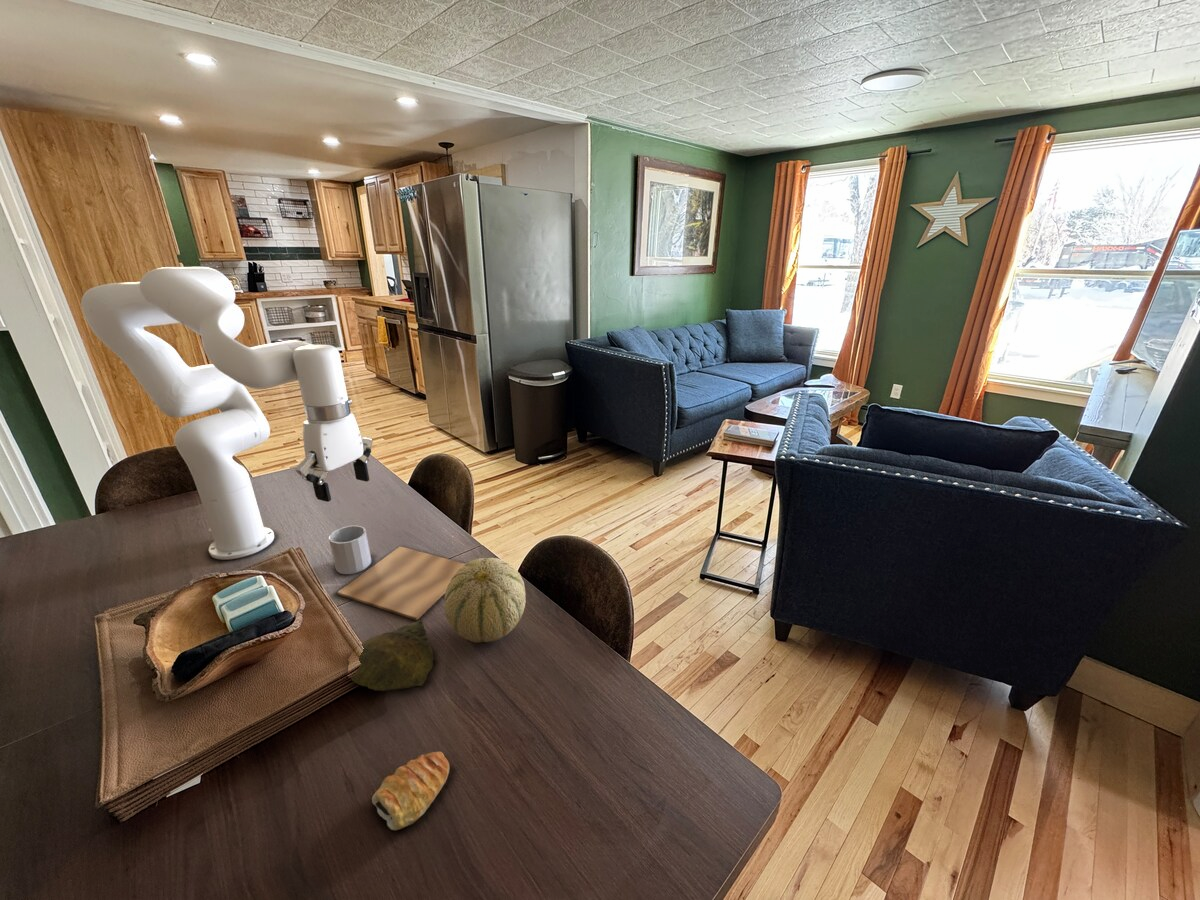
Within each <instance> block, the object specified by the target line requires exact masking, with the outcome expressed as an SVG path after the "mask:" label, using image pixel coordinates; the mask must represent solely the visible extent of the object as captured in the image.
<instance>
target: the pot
mask: <svg viewBox="0 0 1200 900" xmlns="http://www.w3.org/2000/svg"><path fill="white" fill-rule="evenodd" d="M328 542H329V546H330V550H331V555H332V560H333V564H334V568H335V570H336V572H337V573H338V574H342V575H353V574H357V573H360V572H362V571H364V570H366V569H367V568H369V566H370V565H371V564H372V561H373V560H372V555H371V549H370V544H369V537H368V533H367V529H366V528H365V527H364V526H362V525H357V524H356V525H354V524H353V525H352V524H351V525H347V526H343V527H340V528H338V529H336V530H334V531H332V532H331V533H330V535H329V536H328Z"/></svg>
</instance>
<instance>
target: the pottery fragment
mask: <svg viewBox="0 0 1200 900" xmlns="http://www.w3.org/2000/svg"><path fill="white" fill-rule="evenodd" d="M361 644H362V646H363V648H364V649H363V652H362V653H361V655H360V656H359V657H360V658H359V661H360V663H361V665H360V667H359V668H358V669H357V671H356V672H355V674H354V675H353V676H352V677H351V678H350V679H351V681H352V682H353V683H354V684H357V685H358V686H362V687H365V688H368V689H369V690H373V691H375V692H379V691H381V692H385V691H386V692H387V691H388V692H389V691H396V690H398V689H399V690H401V689H404V690H405V689H410V688H414V687H422V686H423V685H424V684H425V682H426V680H427V679H428V678H427V677H428V674H429V673H430V672H431V670H432V669H433V666H434V658H435V655H434V650H433V648H432V646H431V644H430V641H429V642H428V637H427V631H426V628H425V625H424V623H423V620H422V619H420V620H416V621H415V622H413V623H412V622H411V623H409V624H405V625H403V626H401V627H399V628H396V629H394V630H390V631H387V632H384V633H380V634H378V635H375V636H373V637H371V638H369V639H368V640H366V641H363V642H362V643H361Z"/></svg>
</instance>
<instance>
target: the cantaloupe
mask: <svg viewBox="0 0 1200 900" xmlns="http://www.w3.org/2000/svg"><path fill="white" fill-rule="evenodd" d="M464 564H465V565H464V566H463V567H461V568H460V569H459V570H458V571H457V572H456V574H455V575H454V576H453V578H452V579H451V581H450V583H449V584H448V586H447V589H446V593H445V594H444V601H443V603H444V615H445V619H446V621H447V623H448V624H449V626H450V628H451V630H452V631H453V632H454V633H456V634H457V635H459V636H460V637H461V638H463V639H465V640H467V641H470V642H473V643H483V642H484V643H488V642H495V641H497V640H501V638H504V637H506V636H507V635H509V633H511V632H512V631H513V630H514V629H515V628H516V626H517V625H518V623H519V622H520V620H521V618H522V617H523V614H524V612H525V608H526V603H527V602H526V601H527V600H526V599H527V597H526V587H525V582H524V580H523V577H522V575H521V573H520V572H519V571H518V570H517V569H516V568H515V567H514V566H513V565H512V564H510V563H509V562H507V561H505V560H503V559H500V558H497V557H480V558H476V559H472V560H470V561H469V562H466V563H464Z"/></svg>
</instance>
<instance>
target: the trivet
mask: <svg viewBox="0 0 1200 900" xmlns="http://www.w3.org/2000/svg"><path fill="white" fill-rule="evenodd" d="M465 564H466V563H463V562H460V561H457V560H452V559H448V558H445V557H442V556H438V555H434V554H431V553H427V552H423V551H419V550H415V549H412V548H408V547H405V546H402V545H399V546H398V547H397V548H396V549H394V550H393V551H391V552H390V553H389V554H387V555H386V556H384V557H383V558H382V559H381V560H379V561H378V562H376V563H375V564H374V565H371V567H369V568H368V569H367V570H366V571H364V572H363V573H361V574H360V575H359V576H358V577H355V578H354V579H353V580H352V581H351V582H349V583H347V584H346V585H345V586H344V587H343V588H341V589H340V590H338V591H337V595H339V596H342V597H345V598H347V599H351V600H353V601H357V602H360V603H363V604H365V605H369V606H371V607H375V608H378V609H381V610H384V611H388V612H390V613H394V614H396V615H400V616H402V617H406V618H408V619H412V620H414V621H419V619H420V618H421V617H422V616H423V615H424V614H425V613H426V612H427V611H428V610H429V609H430V608H432V607H433V606H434V605H435V604H436V603H437V601H438V600H440V599H441V598H442V597H443V596H445V593H446V589H447V586H448V584H449V583H450V581H451V579H452V578H453V576H454V575H455V574H456V572H457V571H458V570H459V569H460V568H461V567H463V566H464V565H465Z"/></svg>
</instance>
